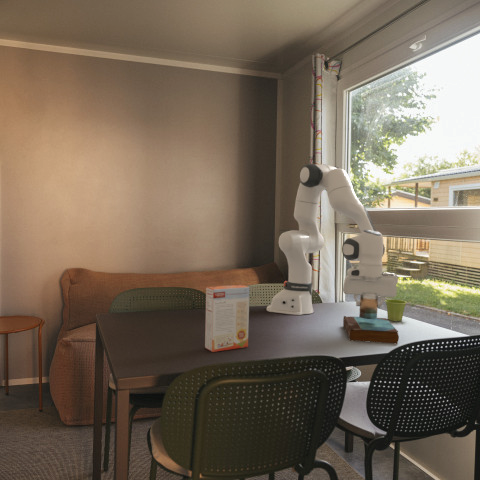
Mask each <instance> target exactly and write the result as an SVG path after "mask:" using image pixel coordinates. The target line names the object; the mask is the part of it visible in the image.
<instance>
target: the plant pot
mask: <svg viewBox="0 0 480 480" xmlns="http://www.w3.org/2000/svg"><path fill="white" fill-rule="evenodd" d="M384 302H385V304H386V313H387V320H388V321H389V320H390V321H392V322H402V321H403V317H404V311H405V307H406V305H407V301H405V300H402V299H401V300H400V299H385V300H384Z"/></svg>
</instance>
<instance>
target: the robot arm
mask: <svg viewBox="0 0 480 480" xmlns="http://www.w3.org/2000/svg"><path fill="white" fill-rule="evenodd" d="M298 176H299V182H300V183H299V185H298V188H297V191H296V192H297V194H296V197H295V202H294V203H295V204H294V212H293V217H294V220H295V221H296V222H297V223H298V230H297V229H296V230H294V229H291V230H289V231H288V230H287V231H284V232H283V233H281V234H280V235H279V237H278V246H279V248H280V251H282V252H283V253H284V255H285V257H286V259H287V260H286V261H287V265H288V280H285V281H284V282H283V289H281V290H280V291H279V292H278V293H276V294H275V295H273V297H272V299H271V303H270V305H267V306H266V311H267V312H270V313H278V314H286V315H295V316H300V315H309V314H313V313H314V308H313V304H312V303H313V301H312V294H313V282H312V279H313V278H312V277H313V267H312V265H311V264H310V263H309V262H308V260H307V256H306V254H313V253H316V252H319V251H321V250H322V249H323V248H324V244H325V239H324V236H323V235H322V234H321V232H320V229H319V224H318V214H319V209H320V208H319V206H320V201H321V200H320V199H321V193H322V192H323V191H326V193H327V194H326V195H327V197H328V201H329V204H330V206H331V208H332V209H333V211H335V212H336V213H338V214H340V215H343V216H345V217H347V218H349V219H351V220H353V222H355V224H357V227H358V229H359V232H360V233H359V234H358V235H355V236H352V237H347V238H346V239H345V240H344V241H343V242H342V245H341V246H342V247H341V253H342V255H343V257H344V258H345V259H346V260H347V261H351V262H358V266H356V267H350V268H348V269H347V270H346V271H347V272H346V273H347V275H345V278H344V281H343V285H342V292H343V294H344V295H352V296H353V298H354V301H355V306H356V307H360V300H358V299H357V298H358V296H360V295H362V292H365V293H377V296H378V297H380V299H381V300H380V301H378V307H377V309H382V305H383V303H384V302H385V300H386V298H395V297H397V284H398V280H399V277H398V275H397V274H396V273H393V272H383V264H384V263H383V257H384V255H385V251H386V249H385V245H384V238H383V234H382V233H381V232H380V231H377V230H376V228H375V226H374V224H373V221H372V219H371V216H370V215H369V213H368V210H367V209H366V207H365V206H364V204H362V202H361V201H360V199H359V198H358V197H357V194H356V193H355V190H354V186H353V183H352V181H351V179H350V177H349V174H348V172H347V170H345V169H343V168H340V167H338V166H333V165H329V164H320V163H319V164H316V163H308V164H307V163H306V164H304V165H303V166H302V167H301V168H300V170H299V175H298Z"/></svg>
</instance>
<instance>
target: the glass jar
mask: <svg viewBox="0 0 480 480" xmlns="http://www.w3.org/2000/svg"><path fill="white" fill-rule="evenodd" d="M359 296H360V297H359V301H360V306H359V314H358V315H359V316H358V317H361V318H364V319H377V318H378V308H377V307H378V303H379V296H377V293H365V292H362V295H359Z"/></svg>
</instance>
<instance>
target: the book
mask: <svg viewBox="0 0 480 480" xmlns="http://www.w3.org/2000/svg"><path fill="white" fill-rule="evenodd" d="M342 321H343V324H342V325H343V329H344V328H345V329H344V331H345V330H346V331H345V332H346V335H347V336H348V339H349V342H352V341H351V340H353V341H354V342H365V341H370V342H369V343H379V342H382V343H381V344H394V343H396V344H397V345H398V342H399V339H400V338H399V337H400V335H399V331H398V330H397V328H396V327H395V326H394V325H393V324H392V323H391V322H390V321H389V320H388V318H385V317H384V318H383V317H377V319H364V318H361V317H359V316H346V315H344V316H343V319H342Z"/></svg>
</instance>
